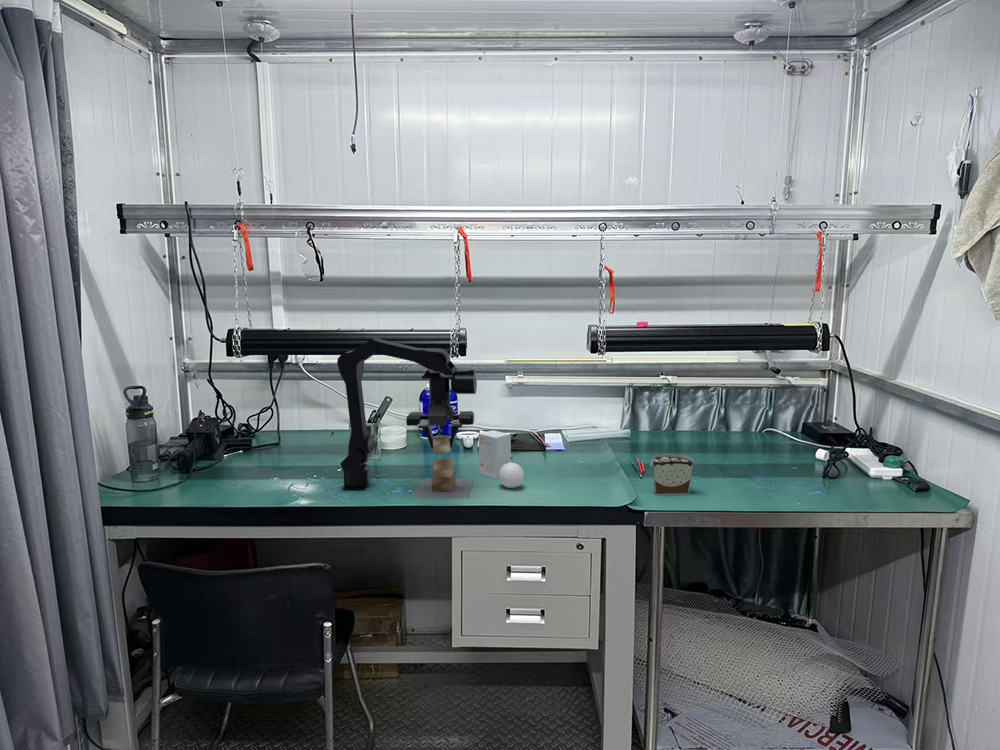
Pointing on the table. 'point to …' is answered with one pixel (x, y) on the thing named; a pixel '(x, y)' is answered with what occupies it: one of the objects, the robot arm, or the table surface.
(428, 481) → the coaster
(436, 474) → the tower top
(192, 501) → the table surface
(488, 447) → the small box
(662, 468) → the food container
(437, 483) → the tower base
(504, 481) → the white sphere
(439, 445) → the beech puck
